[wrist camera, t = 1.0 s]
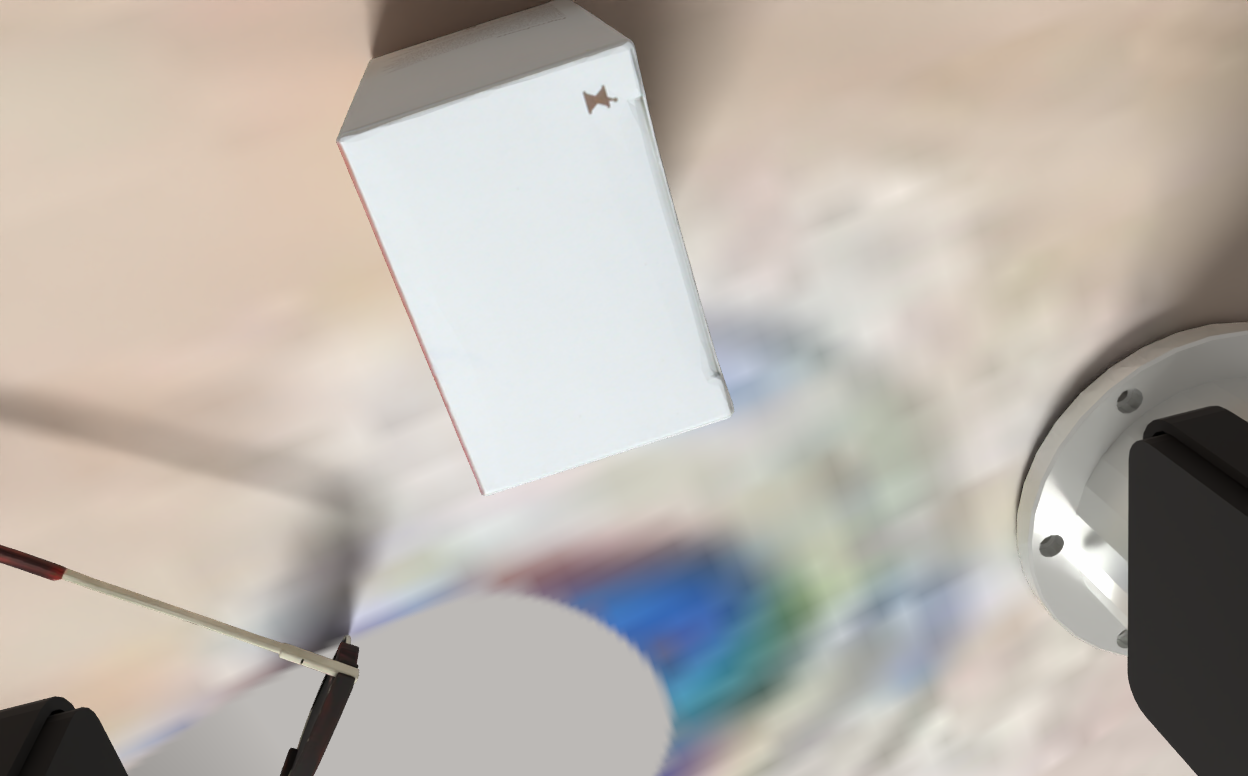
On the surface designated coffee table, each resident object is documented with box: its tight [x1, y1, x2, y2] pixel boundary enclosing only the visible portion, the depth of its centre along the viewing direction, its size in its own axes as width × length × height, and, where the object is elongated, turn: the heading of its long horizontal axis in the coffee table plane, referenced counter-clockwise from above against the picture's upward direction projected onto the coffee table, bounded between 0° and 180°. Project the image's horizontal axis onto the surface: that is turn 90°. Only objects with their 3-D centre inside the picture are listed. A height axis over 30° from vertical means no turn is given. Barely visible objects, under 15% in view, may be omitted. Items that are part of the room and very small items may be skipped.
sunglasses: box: [0, 545, 359, 776], centre depth 33 cm, size 14×16×5 cm
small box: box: [336, 0, 734, 496], centre depth 25 cm, size 8×6×10 cm
